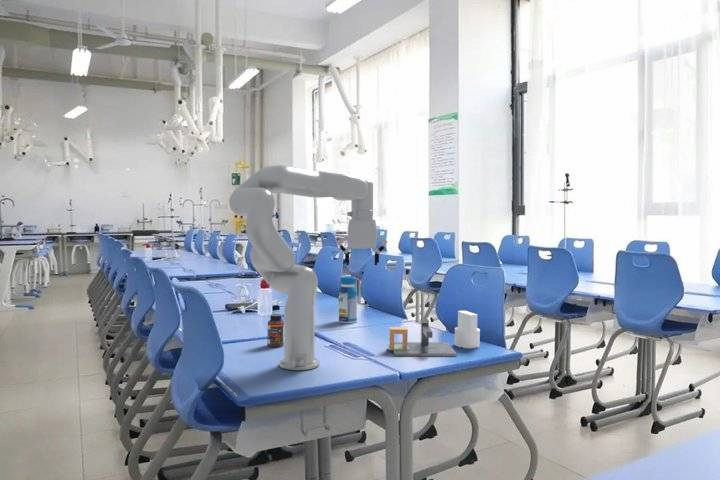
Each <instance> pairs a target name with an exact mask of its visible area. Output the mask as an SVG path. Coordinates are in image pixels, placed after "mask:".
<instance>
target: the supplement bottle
mask: <svg viewBox="0 0 720 480" xmlns="http://www.w3.org/2000/svg"><path fill="white" fill-rule="evenodd" d="M266 342H267V346H268V347H271V348H280V347H283V346H284V320H283V319H282V314H280V313H273V314H270V319H269V320H268V321H267V340H266Z"/></svg>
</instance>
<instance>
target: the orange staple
mask: <svg viewBox="0 0 720 480" xmlns="http://www.w3.org/2000/svg"><path fill="white" fill-rule="evenodd" d="M408 334H409V333H408V328H407V326H389V343H388V344H389V346H390V348H394V342H395V335H401V336H402V341H401V342H402V346H403V348H407V342H408V338H409V337H408Z"/></svg>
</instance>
